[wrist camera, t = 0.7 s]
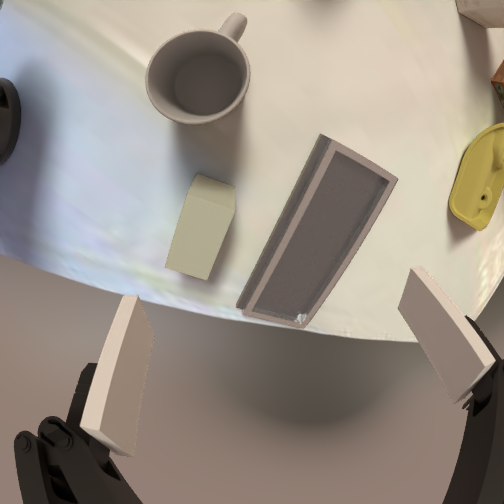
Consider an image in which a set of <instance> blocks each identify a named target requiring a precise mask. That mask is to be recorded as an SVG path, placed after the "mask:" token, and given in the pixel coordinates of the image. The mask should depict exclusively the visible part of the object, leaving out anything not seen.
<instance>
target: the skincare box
mask: <svg viewBox="0 0 504 504" xmlns="http://www.w3.org/2000/svg"><path fill="white" fill-rule="evenodd" d="M456 4H457V9H458V12H459V13H461V14H462V15H464V16H466V17H468V18H470V19H471V20H473V21H475V22H476V23H478V24H480V25H481V26H483V27H485V28H504V0H456Z"/></svg>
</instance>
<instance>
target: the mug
mask: <svg viewBox="0 0 504 504" xmlns="http://www.w3.org/2000/svg"><path fill="white" fill-rule="evenodd" d="M246 24H247V18H246V17H245V16H244V15H243V14H240V13H233V14H231V15H230V16H229V17H228V18H227V20H226V21H225V22H224V24H223V25H222V27H221V28H220V30H219V31H218V32H217V31H213V30H207V29H197V30H190V31H186V32H183V33H180V34H178V35H175V36H174V37H172V38H170V39H169V40H167V41H166V42H165V43H163V44H162V45H161V46H160V47H159V48H158V50H157V51H156V52H155V53H154V55H153V56H152V58H151V60H150V62H149V64H148V68H147V71H146V82H145V83H146V90H147V94H148V96H149V99H150V101H151V102H152V104H153V105H154V107H155V108H156V109H157V110H158V111H159V112H160V113H161V114H162V115H164V116H165V117H167V118H169V119H171V120H173V121H176V122H178V123H183V124H190V125H198V124H206V123H209V122H213V121H216V120H218V119H220V118H222V117H224V116H226V115H227V114H229V113H230V112H231V111H232V110H233V109H235V108H236V107H237V106H238V104H239V103H240V102H241V101H242V99H243V98H244V96H245V94H246V92H247V89H248V86H249V82H250V65H249V61H248V58H247V56H246V54H245V52H244V50H243V49H242V48H241V46H240V45H239V44H238V43H237V42H238V41H239V39H240V38H241V36H242V34H243V32H244V30H245V27H246Z"/></svg>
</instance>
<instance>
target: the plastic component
mask: <svg viewBox="0 0 504 504" xmlns="http://www.w3.org/2000/svg"><path fill="white" fill-rule="evenodd" d="M503 186H504V123H499V124H496V125H493V126H491V127H489V128H487V129H486V130H484V131H483V132H481V133H480V134H479V135H478V136H477V137H476V138H475V139H474V140H473V141H472V143H471V144H470V146H469V147H468V149H467V151H466V153H465V155H464V157H463V160H462V163H461V166H460V169H459V172H458V175H457V178H456V181H455V184H454V187H453V190H452V192H451V195H450V198H449V206H450V209H451V211H452V213H453V214H454V215H455V216H456V217H457V218H459V219H460V220H462V221H464V222H465V223H467V224H468V225H470V226H471V227H473V228H474V229H476V230H478V231H482V230H483V229H485V228H486V227H487V225H488V223H489V221H490V219H491V217H492V215H493V213H494V210H495V208H496V205H497V203H498V200H499V197H500V195H501V192H502V189H503ZM483 195H484V196H483ZM482 196H483V198H482V200H481V197H482Z"/></svg>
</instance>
